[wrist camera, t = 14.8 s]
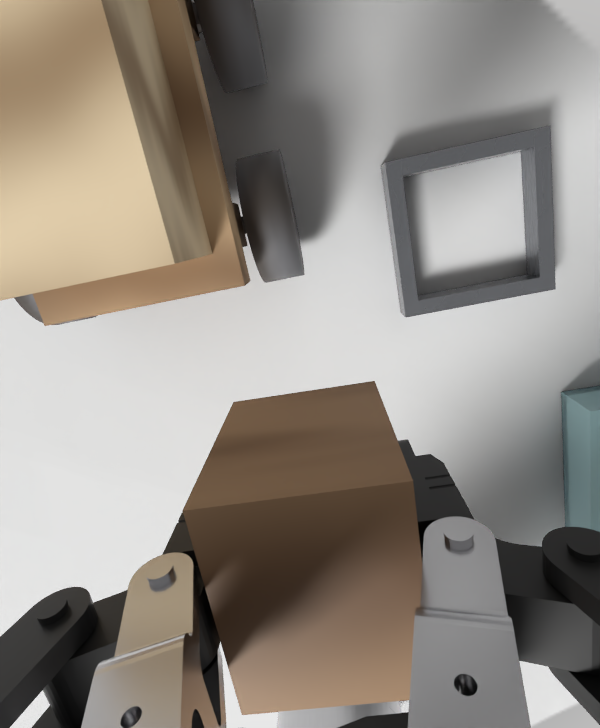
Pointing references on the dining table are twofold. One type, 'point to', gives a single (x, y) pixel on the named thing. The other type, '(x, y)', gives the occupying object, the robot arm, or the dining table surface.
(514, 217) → the dining table surface
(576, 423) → the tray
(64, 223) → the trolley
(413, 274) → the square frame
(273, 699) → the block
